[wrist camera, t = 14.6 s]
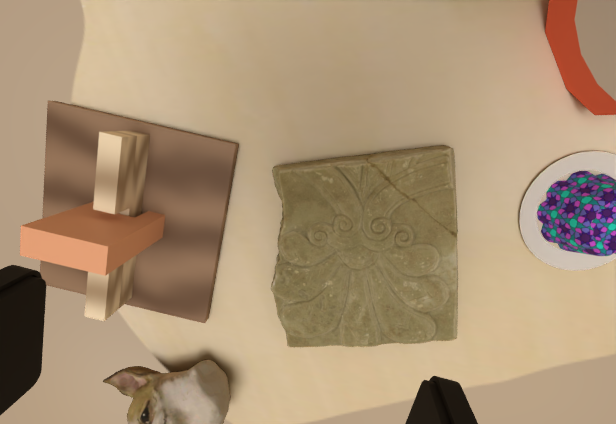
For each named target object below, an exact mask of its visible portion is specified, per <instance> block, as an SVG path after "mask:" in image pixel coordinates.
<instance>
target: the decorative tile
mask: <svg viewBox="0 0 616 424" xmlns="http://www.w3.org/2000/svg"><path fill="white" fill-rule="evenodd" d="M272 172H273V177H274V181H275V187H276V188H277V191H278V194H279V196H280V199H281V200H282V208H283V212H282V215H283V218H282V221H281V228H280V234H279V236H278V249H279V254H278V257H277V264H276V266H275V275H274V278H273V282H272V285H271V290H272V292H273V294H274V298H275V302H276V307H277V314H278V317H279V319H280V321H281V324H282V326H283V328H284V329H285V331H286V336H287V346H289V347H322V346H336V345H341V346H345V347H356V346H358V347H372V346H378V345H381V344H389V343H403V344H415V343H424V342H429V341H450V340H454V339H456V338H457V304H458V266H457V232H458V230H457V205H456V186H455V162H454V151H453V148H450V147H447V146H444V145H440V146H430V147H421V148H415V149H407V150H396V151H388V152H381V153H374V154H368V155H359V156H348V157H338V158H331V159H324V160H317V161H309V162H300V163H292V164H285V165H279V166H276V167H273V170H272Z"/></svg>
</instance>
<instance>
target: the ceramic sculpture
mask: <svg viewBox="0 0 616 424" xmlns="http://www.w3.org/2000/svg"><path fill="white" fill-rule="evenodd" d="M103 382H105V383H109V384H111V385H113V386H115V387H116V388H117V389H118V390H119V391H120V392H121V393H122V394H124V395H126V396H130V397H133V401H132V403H131V405H130V407H129V410H128V414H127V421H128V424H223V423H224V419H225V417H226V414H227V412H228V409H229V402H230V393H229V386H228V380H227V376H226V374H225V373H224V371H223V370H221V369H220V368H219V367H218V366H217V364H216V363H215V362H213V361H212V360H204V361H200V362H199V363H197V364H196V365H195V366H193V367H192V368H190V369H189V370H187V371H180V372H170V373H160V372H158V371H154V370H151V369H149V368H145V367H141V366H134V367H128V368H125V369H122V370H120V371H118V372H116V373H114V374H113V375H111V376H110V377H108V378H107V379H105V380H104V381H103Z"/></svg>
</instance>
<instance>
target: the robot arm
mask: <svg viewBox="0 0 616 424" xmlns="http://www.w3.org/2000/svg"><path fill="white" fill-rule="evenodd" d="M45 297H46V282H45V280H43V279H42V276H41V274H40V272H38V271H35V270H32V269H28V268H24V267H20V266H16V265H11V266H7V267H5V268H3V269H1V270H0V415H1V414H2V413H4V412H5V411H6V410H7V409H8V408H9V407H10V406H11V405H13V403H15V402H16V401H17V400H18V399H19V398H20V397H21V396H23V395H24V394H25V393H26V392H27V391H28V390H29V389H31V387H33V386H34V384H35V383H36V382H37V380H38V378H39V376H40V373H41V367H42V348H43V332H44V314H45ZM406 424H478V423H477V421H476V419H475V416H474V414H473V412H472V410H471V408H470V405H469V403H468V401H467V399H466V396H465V394H464V392H463V390H462V387H461V386H460V384H459V383H458V382H456V381H452V380H448V379H444V378H440V377H437V376H433V377H432V378H431V379H430V380H429V381H427V380H424V381H423V382H422V384H421V386H420V388H419V391H418V393H417V396H416V398H415V401H414V404H413V406H412V409H411V411H410V414H409V416H408V419H407V421H406Z"/></svg>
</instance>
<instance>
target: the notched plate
mask: <svg viewBox="0 0 616 424" xmlns="http://www.w3.org/2000/svg"><path fill="white" fill-rule="evenodd" d="M93 204H94V202H91V203H88V204H85V205H82V206H79V207H76V208H73V209H70V210H67V211H64V212H61V213H58V214H55V215H52V216H49V217H46V218H43V219H40V220H37V221H34V222H31V223H28V224H25V225H22V226H21V240H20V255H21V256H25V257H29V258H33V259H38V260H42V261H46V262H50V263H54V264H58V265H63V266H67V267H71V268H75V269H79V270H84V271H88V272H92V273H96V274H100V275H104V276H106V275H107V274H109V273H110V272H112V271H113V270H115V269H116V268H118V267H119V266H121V265H122V264H124V263H125V262H127V261H128V260H130V259H131V258H133V257H134V256H136V255H137V254H139V253H140V252H141V251H143V250H144V249H146V248H147V247H149V246H150V245H152V244H153V243H155V242H156V241H158V240H159V239H161V238H162V237H163V230H164V222H165V215H163V214H159V213H155V212H151V211H148V212H145V213H143V214H141V215H139V216H137V217H131V216H126V215H122V214H118V213H117V214H110V213H106V212H102V211H98V210H94V209H93Z"/></svg>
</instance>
